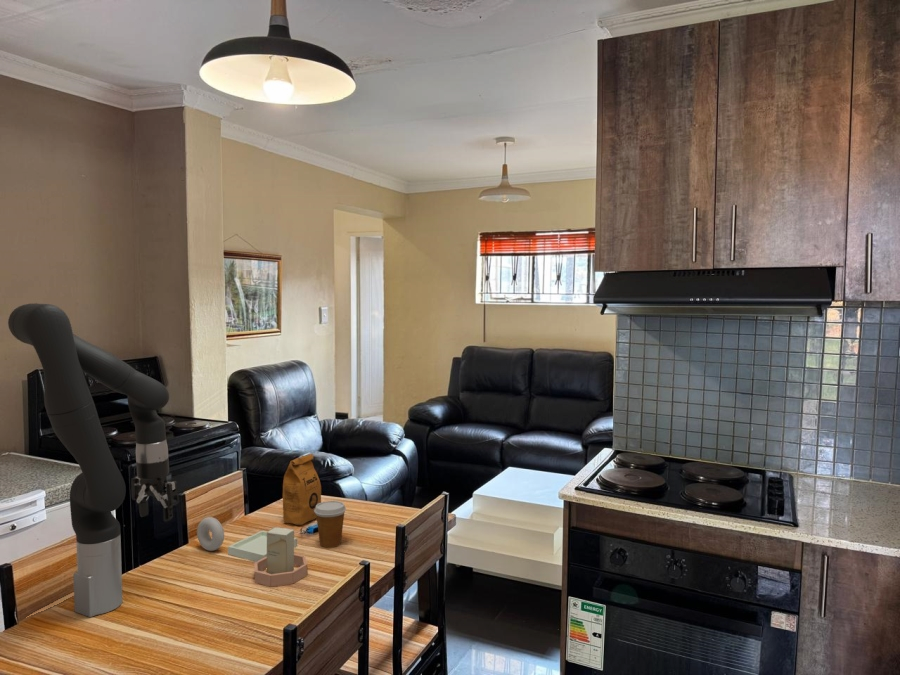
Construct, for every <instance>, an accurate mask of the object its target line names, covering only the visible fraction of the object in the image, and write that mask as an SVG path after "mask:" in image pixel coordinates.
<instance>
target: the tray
mask: <svg viewBox="0 0 900 675" xmlns="http://www.w3.org/2000/svg"><path fill="white" fill-rule="evenodd" d="M267 532H268V531H266V530H260V531H258V532H256V533H254V534H252V535H250V536H248V537H245V538H243V539H241V540H239V541H237V542H235V543H232V544H230V545H228V546H227V555H229V556H232V557H236V558H240V559H244V560H247V559H248V561H252V562H254V563H255V562H257V561H259V560H261V559H262V558H264V557H266V556H267ZM296 547H298V538H297V537H294V548H296Z"/></svg>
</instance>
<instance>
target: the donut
mask: <svg viewBox="0 0 900 675" xmlns="http://www.w3.org/2000/svg"><path fill="white" fill-rule="evenodd" d="M210 533H211V535H210ZM196 536H197V541H198V542H199V545H200V546H201V547H202V548H203V549H204V550H207V551H209V552H211V551H212V552H213V551H216V550H219V549H220V547H221V546H222V545H223V542H224V540H225V531H224V527H223V525H222V523H221V522H220V521H219V520H218V519H217V518H215V517H213V516H206V517H205V518H203V519H202V520H200V522H198V526H197V530H196Z"/></svg>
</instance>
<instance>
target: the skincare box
mask: <svg viewBox="0 0 900 675" xmlns="http://www.w3.org/2000/svg"><path fill="white" fill-rule="evenodd" d="M294 538H295V529H293V528H286V527H285V528H284V527H278V526H275V527H274V528H271V529H270V530H268V531H267V569H266V573H269V574H277V573H284V572H292V571H293V570H295V565H294V554H295V547H294Z"/></svg>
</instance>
